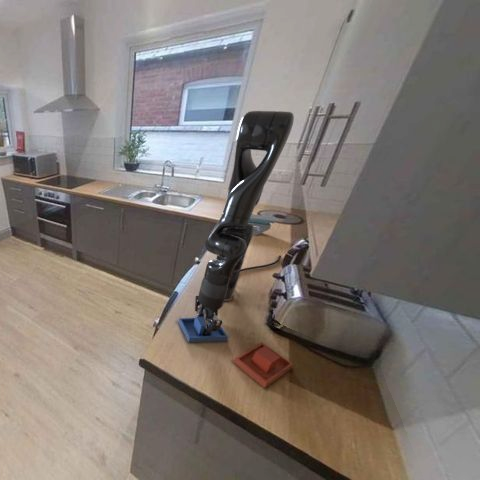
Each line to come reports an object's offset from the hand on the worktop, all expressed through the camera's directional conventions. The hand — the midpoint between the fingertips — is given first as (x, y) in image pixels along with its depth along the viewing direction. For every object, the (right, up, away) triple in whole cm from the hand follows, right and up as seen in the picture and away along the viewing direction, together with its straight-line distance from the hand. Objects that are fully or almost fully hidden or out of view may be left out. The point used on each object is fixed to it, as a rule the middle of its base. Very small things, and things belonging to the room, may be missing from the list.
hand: (202, 329), depth 89 cm
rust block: (+13, -6, -12) cm, 19 cm away
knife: (+35, +4, +9) cm, 37 cm away
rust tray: (+12, -7, -12) cm, 19 cm away
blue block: (0, 0, 0) cm, 0 cm away
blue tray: (0, -1, +1) cm, 1 cm away
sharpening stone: (+66, +37, +77) cm, 108 cm away
